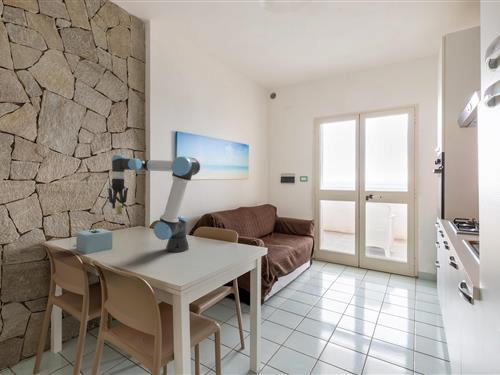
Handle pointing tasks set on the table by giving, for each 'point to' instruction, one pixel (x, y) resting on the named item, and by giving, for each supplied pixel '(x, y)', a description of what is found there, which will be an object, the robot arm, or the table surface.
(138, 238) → the table surface
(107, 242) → the box
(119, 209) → the yellow rectangular block
